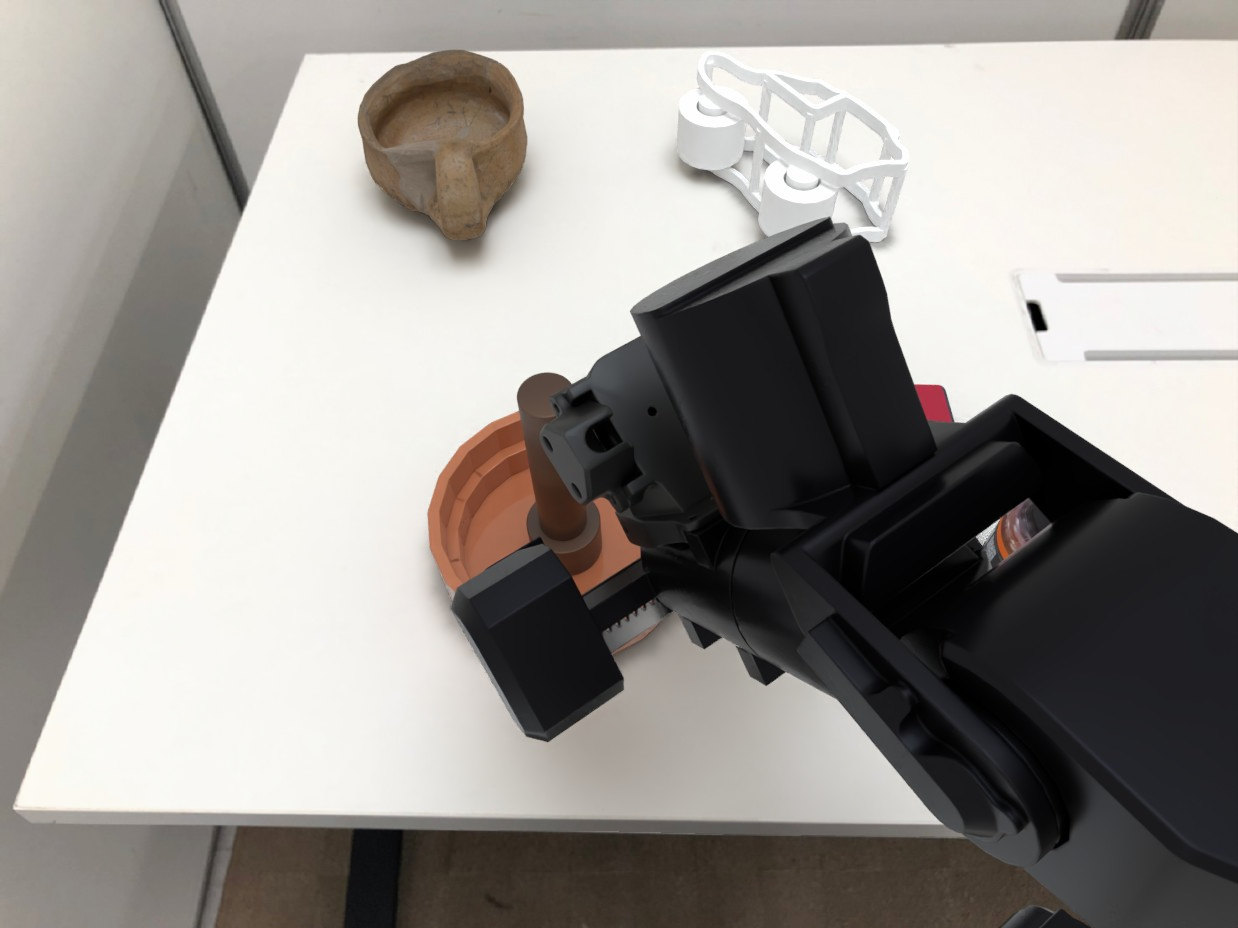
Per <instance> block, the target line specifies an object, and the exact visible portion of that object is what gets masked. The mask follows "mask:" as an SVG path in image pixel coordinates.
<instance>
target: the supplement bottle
mask: <svg viewBox="0 0 1238 928" xmlns="http://www.w3.org/2000/svg"><path fill="white" fill-rule="evenodd" d="M996 523H997V524H996V525H995V526H994V528H993V530H992V531H991V532H990V534H989V535H988V537H987V538H986V539H985V541H984V542H983V544H982V547H983V549H984V550H985V551H986V552H987V555H988V557H989V560H990V563H991V566H992V568H993V567H995V566H996V565H997V564H998V563H1000V562H1001V561H1002V560H1004V559H1005V558H1006V557H1008V556H1009V555H1010V554H1012V553H1013V552H1014V551H1016V550H1017V549H1018V548H1020V547H1021V546H1022V545H1024V544H1025V543H1026V542H1027V541H1029V540H1030V539H1031V538H1033V537H1034V536H1035V535H1037V534H1038V533H1039V532H1041V531H1042V530H1043V529H1045V528H1046V527H1047V526H1049V525H1050V524H1051V523H1050V522H1049V521H1048V519H1047V518H1046V517H1045V516H1044V515H1043V514H1042V513H1041V512H1040V511H1039V509H1038V508H1037V507H1036V506H1035V505H1034V504H1033V503H1032V502H1031V500H1030V499H1029V498H1028V499H1026V500H1025V501H1024V502H1022V503H1021V504H1020V505H1018V506H1017V507H1016V508H1014V509H1013V510H1011V511H1010V512H1009V513H1007V514H1006V515H1005V516H1003V517H1002V518H1001V519H999V520H998V521H997V522H996Z"/></svg>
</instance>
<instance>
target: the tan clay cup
mask: <svg viewBox="0 0 1238 928" xmlns="http://www.w3.org/2000/svg"><path fill="white" fill-rule="evenodd" d="M524 105H525V103H524V96H523V93H522V91H521V88H520V87H519V84H518V81H517V79H516V77H514V75H513V74H512V72H511V71H510V70H509V68H508V67H506V66H505V65H504V64H503V63H501V62H499V61H498V60H496V59H494V58H491V57H488V56H485V55H482V54H480V53H476V52H474V51H473V52H472V51H469V50H466V49H445V50H439V51H434V52H430V53H428V54H426V55H422V56H420V57H418V58H415V59H414V60H410V61H407V62H406V63H400V64H397V65H395V66H393V67H391V68H390V69H389V70H386V72H385V73H384V74H382V75H381V77H379V78H378V79H377V80H376V81H374V82H373V83H372V85H370V87H369V88H368V89H367V91H366V92H365V93H364V95H363V98H362V100H361V103H360V104H359V107H358V112H357V128H358V130H359V131H358V132H359V135H360V138H361V141H362V148H363V155H364V160H365V164H366V167H367V170H368V171H369V174H370V176H371V179H372V181H373V182H374V183H375V184H376V185H377V186H378V187H379V188H380V189H381V190H382V191H383V192H384V193H385V194H386V195H387V196H389V197H390V198H391V199H393V200H395V202H397V203H399V204H400V205H402V206H404V207H406V208H407V209H409V210H410V211H412V212H419V213H423V214H425V215H426V216H429V217H430V219H431V220H432V221H433V222H434V223H435V224H436V225H437V227H438V228H439V230H441V232H442V233H443V235H444V237H445V238H447V239H448V240H451V241H452V240H454V241H466V240H471V239H475V238H477V237H479V236H481V235H482V234H483V233H484V232H485V231H486V226H487V221H488V217H489V215H490V213H491V212H492V209H493V208H494V205H495V204H497V203H498V202H499V200H500V199H501V198H503V195H504V194H505V193H506V192H508V191H509V190H510V189H511V187H512V186H513V184H514V183H515V182H516V180H517V179H518V176H519V175H520V174H521V173H522V170H523V168H524V163H525V161H526V157H527V149H528V133H527V128H526V124H525V118H524V114H525V106H524Z"/></svg>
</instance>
